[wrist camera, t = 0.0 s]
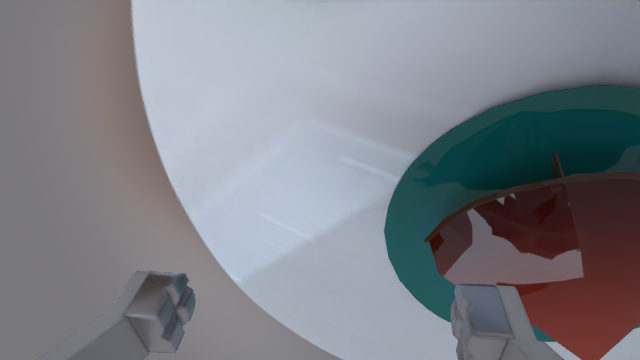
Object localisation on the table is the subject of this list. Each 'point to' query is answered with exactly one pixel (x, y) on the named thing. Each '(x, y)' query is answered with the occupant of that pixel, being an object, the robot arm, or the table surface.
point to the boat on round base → (531, 214)
